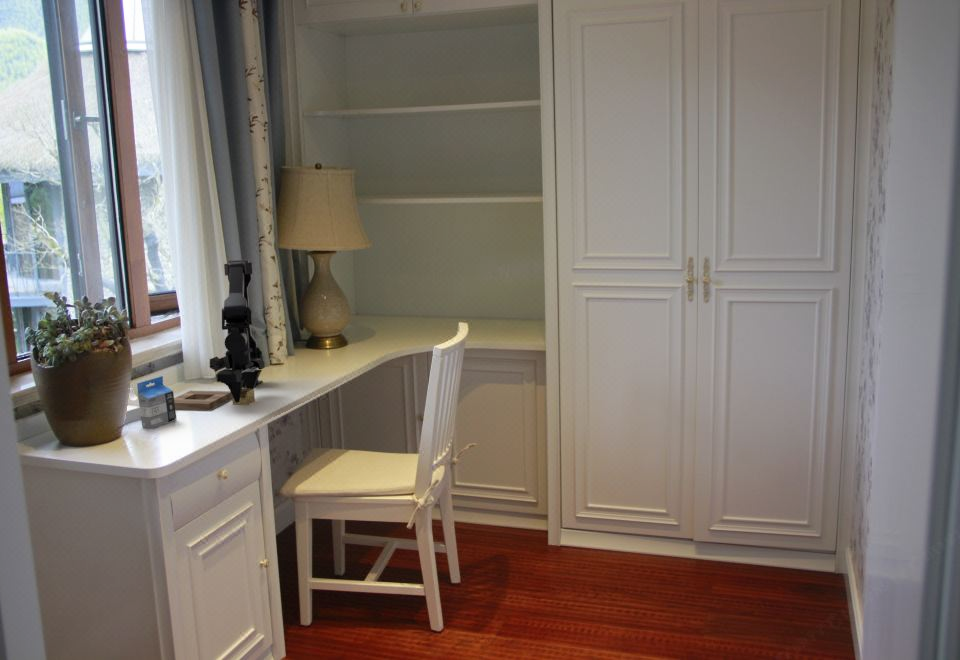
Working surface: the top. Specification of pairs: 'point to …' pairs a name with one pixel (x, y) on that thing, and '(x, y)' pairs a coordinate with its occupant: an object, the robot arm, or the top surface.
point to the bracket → (132, 408)
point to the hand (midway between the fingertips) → (243, 398)
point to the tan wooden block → (245, 397)
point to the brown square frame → (201, 400)
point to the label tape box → (156, 403)
